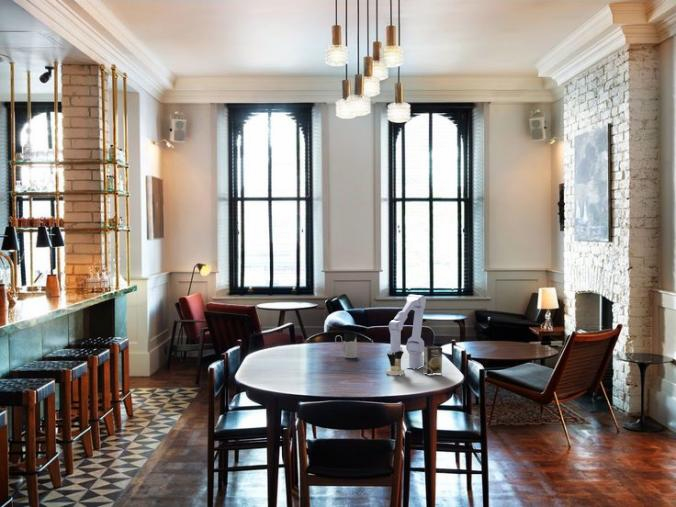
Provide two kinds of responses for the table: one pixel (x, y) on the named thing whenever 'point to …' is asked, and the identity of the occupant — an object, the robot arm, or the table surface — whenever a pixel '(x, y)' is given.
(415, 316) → the robot arm
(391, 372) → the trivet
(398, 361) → the block
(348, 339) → the glass holder
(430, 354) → the coffee box
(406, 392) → the table surface
